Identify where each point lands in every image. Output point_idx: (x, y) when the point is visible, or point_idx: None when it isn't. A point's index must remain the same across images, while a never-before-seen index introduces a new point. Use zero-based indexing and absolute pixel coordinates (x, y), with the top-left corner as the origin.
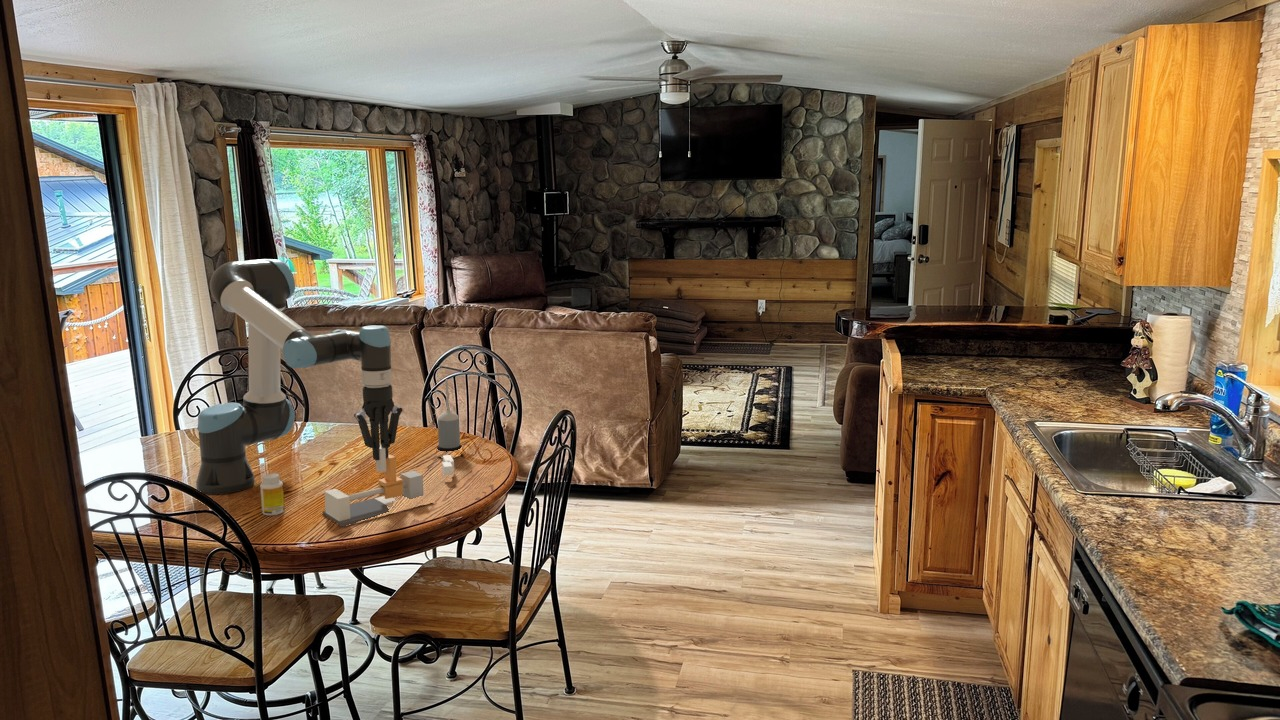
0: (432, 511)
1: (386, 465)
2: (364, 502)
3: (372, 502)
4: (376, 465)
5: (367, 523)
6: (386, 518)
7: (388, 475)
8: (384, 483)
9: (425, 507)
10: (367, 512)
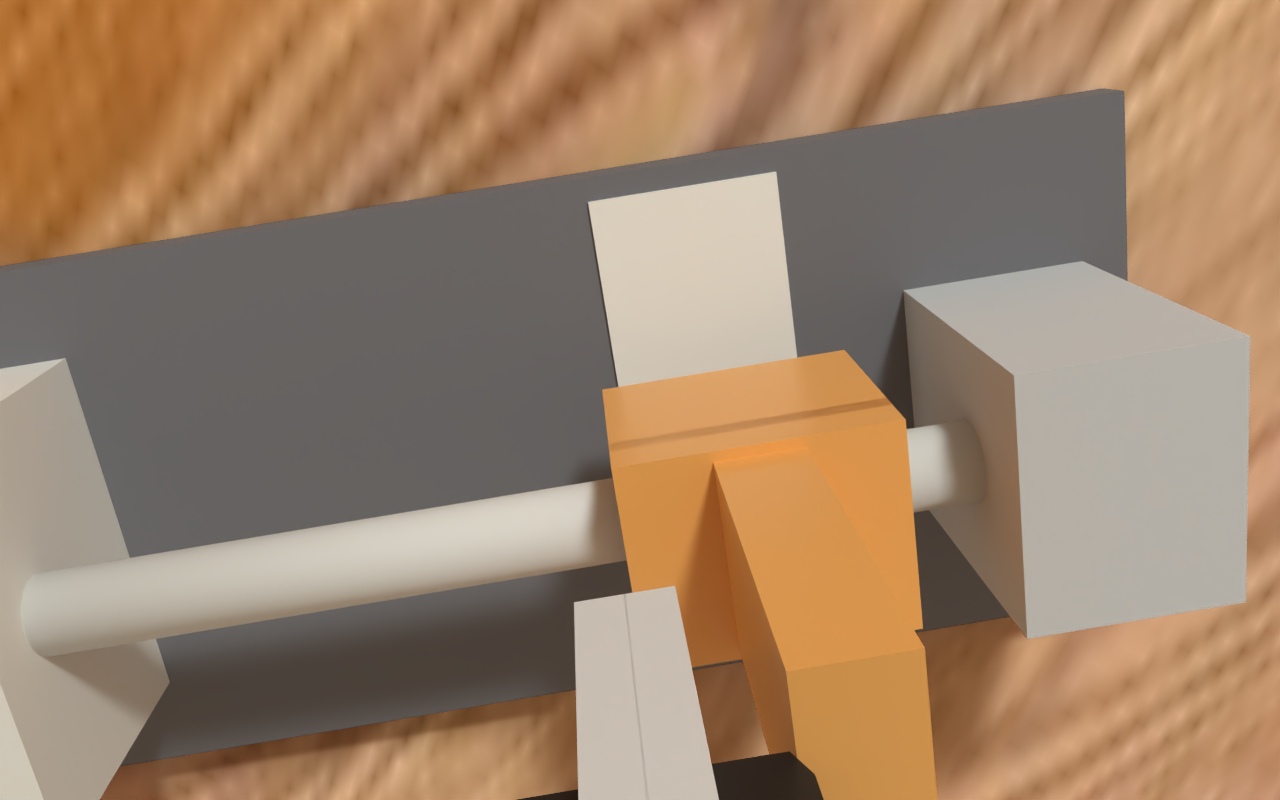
0: (993, 770)
1: (764, 661)
2: (436, 270)
3: (523, 322)
4: (577, 655)
5: (334, 764)
6: (540, 731)
7: (742, 629)
8: None
9: (990, 641)
10: (380, 606)
